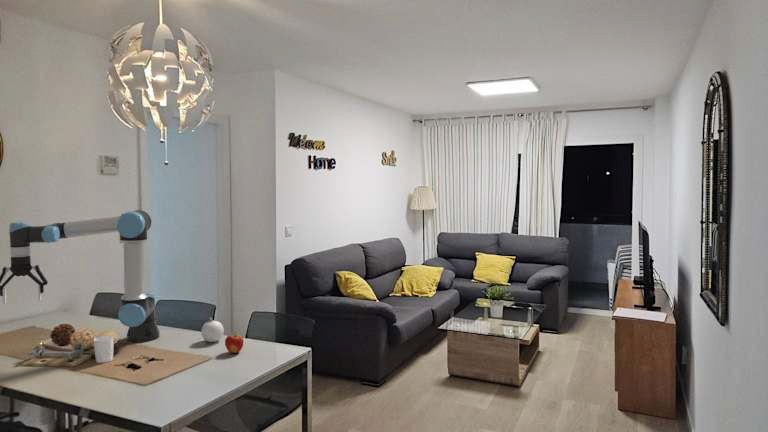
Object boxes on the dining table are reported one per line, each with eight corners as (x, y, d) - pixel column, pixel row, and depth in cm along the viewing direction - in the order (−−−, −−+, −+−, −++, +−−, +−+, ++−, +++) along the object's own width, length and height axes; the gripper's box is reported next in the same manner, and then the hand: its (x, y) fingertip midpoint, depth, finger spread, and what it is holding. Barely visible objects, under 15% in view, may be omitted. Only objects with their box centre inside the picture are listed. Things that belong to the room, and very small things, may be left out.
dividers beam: (84, 355, 242) (83, 342, 241) (72, 362, 233) (71, 349, 233) (40, 354, 243) (40, 342, 242) (27, 361, 234) (27, 348, 234)
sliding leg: (45, 354, 242) (44, 341, 242) (32, 360, 234) (31, 347, 234) (38, 354, 243) (38, 341, 242) (25, 360, 234) (24, 347, 234)
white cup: (118, 358, 241) (117, 336, 240) (105, 364, 234) (104, 341, 233) (104, 356, 243) (103, 335, 242) (90, 362, 236) (89, 340, 235)
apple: (234, 348, 254) (234, 328, 254) (247, 351, 250) (246, 330, 249) (221, 353, 247) (221, 332, 247) (234, 356, 243) (233, 335, 243)
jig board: (91, 357, 243) (91, 354, 243) (74, 366, 231) (74, 364, 231) (41, 356, 244) (41, 353, 244) (22, 365, 232) (22, 363, 232)
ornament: (197, 343, 262) (197, 319, 261) (209, 337, 272) (208, 314, 271) (216, 345, 259) (216, 321, 258) (227, 339, 269) (227, 315, 268)
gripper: (53, 253, 255) (55, 297, 257) (-11, 256, 244) (-9, 302, 246) (51, 255, 248) (53, 300, 250) (-15, 258, 238) (-13, 305, 239)
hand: (22, 301), depth 248 cm, fingers open, 13 cm apart
